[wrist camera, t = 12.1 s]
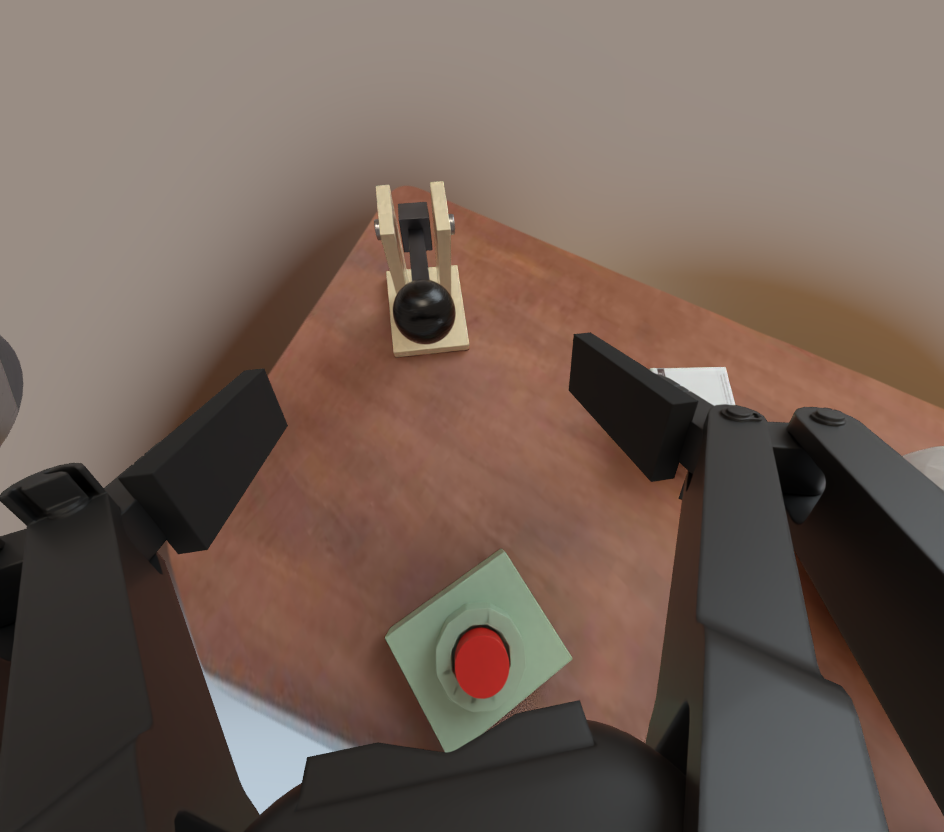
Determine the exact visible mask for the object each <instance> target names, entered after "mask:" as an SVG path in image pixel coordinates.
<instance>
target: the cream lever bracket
mask: <svg viewBox="0 0 944 832" xmlns="http://www.w3.org/2000/svg"><path fill="white" fill-rule="evenodd" d="M430 188H431V202H432V215H433V228H434V241H435V254H436V267H431V268H428V270H429V277H430V280H432V281H435V282H437V283H439V284H440V285H442V286H443V287H444V288H445V289H446V290H447V291H448V292H449V294H450V295H451V297H452V299H453V301H454V305H455V311H456V316H455V322H454V325H453V327H452V329H451V331H450V332H449V334H448V335H447V336H446V337H445V338H443V339H442V340H441V341H439V342H436V343H433V344H427V345H424V344H417V343H414V342H412V341H410V340H408V339H407V338H406V337H404V336H403V335H402V334H401V332H400V331H399V330H398V328H397V326H396V324H395V322H394V318H393V303H394V300H395V297H396V295H397V293H398V292H399V290H400V289H401V288H402V287H403V286H404V285H406V284H407V283H409V282H411V281H412V276H411V269H408V270H407V269H406V264H405V260H404V255H403V250H402V245H401V240H400V235H399V230H398V225H397V220H396V215H395V211H394V206H393V201H392V196H391V191H390V186H389V185H381V186H376V196H377V207H378V219H375V220H374V225H375V231H376V236H377V239H378V240H381V241H382V244H383V248H384V251H385V255H386V259H387V262H388V266H389V269H390V271H386V275H387V286H388V297H389V308H390V320H391V331H392V342H393V352H394V355H395V357H403V356H413V355H422V354H431V353H440V352H450V351H459V350H468V349H469V340H468V333H467V327H466V320H465V314H464V307H463V301H462V294H461V287H460V281H459V274H458V268H457V265H454V266H451V235H454V234H455V224H454V216H453V214H448V209H447V202H446V196H445V189H444V182H430Z"/></svg>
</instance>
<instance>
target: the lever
mask: <svg viewBox="0 0 944 832" xmlns="http://www.w3.org/2000/svg"><path fill="white" fill-rule="evenodd" d="M398 214H399V224H400V230H401V236H402V242H403V248H404V252H410V262H411V276H412V281H411V282H409V283H407V284H406V285H404V286H403V287H402V288H401V289H400V290H399V292H398V293H397V295H396V297H395V300H394V303H393V318H394V322H395V324H396V326H397V328H398V330H399V331H400V332H401V334H402V335H403V336H404V337H406V338H407V339H408V340H410V341H412V342H414V343H417V344H424V345H427V344H433V343H436V342H439V341H441V340H442V339H443V338H445V337H446V336H447V335H448V334H449V332H450V331H451V329H452V327H453V325H454V322H455V316H456V311H455V305H454V301H453V299H452V297H451V295H450V294H449V292H448V291H447V290H446V289H445V288H444V287H443V286H442V285H440V284H439V283H437V282H435V281H432V280H430V277H429V270H428V263H427V255H426V251H427V250H432V240H431V230H430V220H429V213H428V207H427V202H418V203H404V204H398Z"/></svg>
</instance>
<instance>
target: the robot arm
mask: <svg viewBox="0 0 944 832" xmlns="http://www.w3.org/2000/svg"><path fill="white" fill-rule="evenodd" d="M569 391H570V392H571V393H572V395H573V396H574V397H575V398H576V399H577V400H578V401H579V402H580V403H581V405H582V406H583V407H584V408H585V409H586V410H587V411H588V412H589V413H590V415H591V416H592V417H593V418H594V419H595V420H596V421H597V422H598V423H599V425H600V426H601V427H602V428H603V429H604V430H605V431H606V432H607V433H608V435H609V436H610V437H611V438H612V439H613V440H614V441H615V442H616V443H617V445H618V446H619V447H620V448H621V449H622V450H623V451H624V452H625V453H626V455H627V456H628V457H629V458H630V459H631V460H632V461H633V462H634V463H635V464H636V466H637V467H638V468H639V469H640V470H641V471H642V472H643V473H644V474H645V476H646V477H647V478H648V479H649V480H650V481H651V482H653V481H660V480H666V479H673V478H674V477H675V474H676V471H677V468H678V464H679V463H681V464H682V465H683V466H684V467H685V468H686V469H687V470H688V472H687V475H686V478H685V481H684V484H683V487H682V490H681V493H680V496H679V499H682V505H681V513H680V520H679V528H678V536H677V543H676V551H675V559H674V566H673V574H672V582H671V589H670V597H669V604H668V612H667V620H666V627H665V635H664V643H663V650H662V658H661V666H660V673H659V681H658V688H657V695H656V700H655V705H654V709H653V713H652V717H651V720H650V724H649V729H648V733H647V738H646V744H645V743H644V742H642V741H640V740H639V739H637V738H635V737H634V736H632V735H630V734H628V733H626V732H624V731H621V730H619V729H617V728H615V727H613V726H609V725H606V724H603V723H599V722H596V721H590V720H586V718H585V715H584V712H583V709H582V706H581V703H580V700H579V701H574V702H569V703H564V704H560V705H555V706H550V707H545V708H541V709H536V710H531V711H526V712H521V713H517V714H515V715H513V716H512V717H510V718H508V719H506V720H505V721H503V722H501V723H500V724H498V725H496V726H495V727H493V728H491V729H490V730H488V731H486V732H485V733H483V734H481V735H480V736H478V737H476V738H475V739H473V740H471V741H470V742H468V743H466V744H465V745H463V746H461V747H460V748H458V749H456V750H454V751H451V752H437V751H430V750H424V749H417V748H410V747H404V746H397V745H390V744H384V743H373V744H368V745H364V746H359V747H354V748H349V749H344V750H340V751H335V752H330V753H326V754H321V755H316V756H312V757H307V761H306V766H305V770H304V776H303V780H302V783H301V784H299V785H298V786H296V787H295V788H293V789H292V790H290V791H289V792H287V793H286V794H285V795H283V796H282V797H280V798H279V799H278V800H276V801H275V802H274V803H273V804H272V805H271V806H270V807H268V809H266V810H265V811H264V812H263V813H262V814H260V815H259V813H258V811H257V810H256V808H255V807H254V805H253V804H252V802H251V801H250V799H249V798H248V796H247V795H246V793H245V791H244V789H243V787H242V785H241V783H240V780H239V778H238V775H237V772H236V769H235V766H234V763H233V760H232V757H231V754H230V752H229V748H228V745H227V743H226V740H225V737H224V734H223V731H222V728H221V725H220V722H219V719H218V717H217V713H216V710H215V707H214V705H213V701H212V699H211V696H210V693H209V690H208V687H207V684H206V681H205V678H204V675H203V672H202V669H201V666H200V663H199V660H198V657H197V654H196V652H195V649H194V646H193V643H192V640H191V637H190V634H189V631H188V628H187V625H186V622H185V619H184V616H183V613H182V611H181V608H180V605H179V602H178V599H177V596H176V593H175V590H174V587H173V584H172V581H171V578H170V575H169V572H168V570H167V567H166V564H165V561H164V560H163V558H162V557H161V556H160V555H159V554H158V552H157V551H158V550H159V548H160V547H161V546H162V545H163V543H164V542H165V541H166V540H167V541H168V542H169V543H170V545H171V546H172V547H173V548H174V550H175V551H176V552H177V553H178V554H183V553H190V552H196V551H203V550H208V548H209V547H210V545H211V544H212V542H213V540H214V539H215V537H216V536H217V534H218V533H219V531H220V530H221V528H222V526H223V525H224V523H225V522H226V520H227V519H228V517H229V516H230V514H231V513H232V511H233V509H234V508H235V506H236V505H237V503H238V502H239V500H240V499H241V497H242V496H243V494H244V492H245V491H246V489H247V488H248V486H249V485H250V483H251V482H252V480H253V479H254V477H255V475H256V474H257V472H258V471H259V469H260V468H261V466H262V465H263V463H264V462H265V460H266V458H267V457H268V455H269V454H270V452H271V451H272V449H273V448H274V446H275V445H276V443H277V441H278V440H279V438H280V437H281V435H282V434H283V432H284V431H285V429H286V427H287V426H288V425H287V423H286V420H285V418H284V415H283V413H282V410H281V408H280V406H279V403H278V401H277V398H276V396H275V393H274V391H273V389H272V386H271V384H270V381H269V379H268V377H267V374H266V372H265V369H255V370H246V371H244V372H242V373H241V374H240V375H239V376H238V377H237V378H235V379H234V380H233V381H232V382H231V383H229V384H228V385H227V386H226V387H225V388H223V389H222V390H221V391H220V392H219V393H218V394H216V395H215V396H214V397H213V398H212V399H211V400H209V401H208V402H207V403H206V404H205V405H203V406H202V407H201V408H200V409H199V410H197V411H196V412H195V413H194V414H193V415H192V416H190V417H189V418H188V419H187V420H186V421H185V422H183V423H182V424H181V425H180V426H179V427H177V428H176V429H175V430H174V431H173V432H172V433H170V434H169V435H168V436H167V437H166V438H164V439H163V440H162V441H161V442H159V443H157V444H156V445H155V446H154V447H152V448H151V449H150V450H149V451H148V452H147V453H145V455H144V456H142V457H141V458H139V459H138V460H137V461H136V462H135V463H134V465H131V466H130V467H129V468H127V469H126V470H125V471H124V472H123V473H121V474H120V475H119V476H118V477H117V478H116V479H114V480H113V481H112V482H111V483H110V484H108V485H107V486H106V487H105V488H103V487H102V486H101V485H100V484H99V482H98V481H97V480H96V479H95V478H94V476H93V475H92V474H91V473H90V472H89V471H88V469H87V468H86V467H85V466H84V465H83V464H82V463H69V464H64V465H59V466H56V467H53V468H49V469H46V470H43V471H41V472H38V473H35V474H33V475H31V476H28V477H26V478H24V479H22V480H21V481H19V482H17V483H15V484H13V485H12V486H10V487H9V488H7V489H6V490H5V491H3V492H2V493H1V495H0V501H1V502H2V503H3V504H4V505H5V506H6V507H7V508H8V509H9V510H10V511H12V512H13V513H14V514H15V515H16V516H17V517H18V518H19V519H20V520H21V521H22V522H23V523H25V524H26V525H27V529H24V530H20V531H17V532H14V533H10V534H7V535H4V536H0V832H889V830H888V826H887V822H886V819H885V815H884V811H883V807H882V803H881V800H880V796H879V792H878V788H877V785H876V781H875V777H874V773H873V770H872V766H871V762H870V758H869V754H868V751H867V747H866V743H865V739H864V736H863V732H862V728H861V724H860V721H859V717H858V715H857V712H856V710H855V707H854V704H853V702H852V699H851V698H850V696H849V695H848V694H847V693H846V691H845V690H844V689H843V687H842V686H840V685H838V684H836V683H833V682H831V681H829V680H827V679H824V677H823V676H822V675H821V673H820V670H819V667H818V664H817V660H816V655H815V650H814V645H813V641H812V636H811V631H810V626H809V621H808V616H807V612H806V607H805V602H804V597H803V592H802V587H801V582H800V578H799V573H798V568H797V563H796V558H795V553H794V550H795V552H796V554H797V556H798V557H799V559H800V561H801V563H802V565H803V566H804V568H805V570H806V572H807V573H808V575H809V577H810V579H811V581H812V582H813V584H814V586H815V588H816V590H817V591H818V593H819V595H820V597H821V598H822V600H823V602H824V604H825V606H826V607H827V609H828V611H829V613H830V614H831V616H832V618H833V620H834V622H835V623H836V625H837V627H838V629H839V630H840V632H841V634H842V636H843V638H844V639H845V641H846V643H847V645H848V646H849V648H850V650H851V652H852V654H853V655H854V657H855V659H856V661H857V662H858V664H859V666H860V668H861V670H862V671H863V673H864V675H865V677H866V678H867V680H868V682H869V684H870V686H871V687H872V689H873V691H874V693H875V694H876V696H877V698H878V700H879V702H880V703H881V705H882V707H883V709H884V710H885V712H886V714H887V716H888V718H889V719H890V721H891V723H892V725H893V727H894V728H895V730H896V732H897V734H898V735H899V737H900V739H901V741H902V743H903V744H904V746H905V748H906V750H907V751H908V753H909V755H910V757H911V759H912V760H913V762H914V764H915V766H916V767H917V769H918V771H919V773H920V775H921V776H922V778H923V780H924V782H925V783H926V785H927V787H928V789H929V791H930V792H931V794H932V796H933V798H934V799H935V801H936V803H937V805H938V807H939V808H940V810H941V812H942V814H943V815H944V491H943V490H942V489H941V488H940V487H938V486H937V485H936V484H935V483H934V482H932V481H931V480H930V479H929V478H928V477H926V476H925V475H924V474H923V473H922V472H920V471H919V470H918V469H917V468H915V467H914V466H913V465H912V464H911V463H909V462H908V461H907V460H906V459H905V458H903V457H902V456H901V455H900V454H899V453H897V452H896V451H895V450H894V449H892V448H891V447H890V446H889V445H888V444H886V443H885V442H884V441H883V440H882V439H880V438H879V437H878V436H877V435H876V434H874V433H873V432H872V431H871V430H869V429H868V428H867V427H866V426H865V425H863V424H862V423H861V422H860V421H858V420H856V419H855V418H853V417H851V416H849V415H846V414H843V413H842V412H841V411H838V410H832V409H830V408H818V407H803V408H798V409H797V410H796V411H795V412H794V414H793V416H792V418H791V420H790V422H789V423H782V422H767V420H766V419H765V417H764V416H763V415H761V414H760V413H758V412H756V411H754V410H751V409H749V408H746V407H741V406H737V405H729V404H721V405H715V406H714V405H712V404H711V403H709V402H708V401H706V400H704V399H703V398H701V397H699V396H698V395H696V394H695V393H693V392H691V391H689V390H688V389H686V388H685V387H683V386H680V384H678V383H677V382H675V381H673V380H672V379H670V378H667V377H665V376H662V375H659V374H656V373H654V372H652V371H650V370H649V369H647V368H646V367H644V366H643V365H641V364H639V363H638V362H636V361H635V360H633V359H631V358H630V357H628V356H627V355H625V354H624V353H622V352H620V351H619V350H617V349H616V348H614V347H613V346H611V345H609V344H608V343H606V342H605V341H603V340H601V339H600V338H598V337H597V336H595V335H594V334H592V333H582V334H574V338H573V349H572V360H571V371H570V382H569Z"/></svg>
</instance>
